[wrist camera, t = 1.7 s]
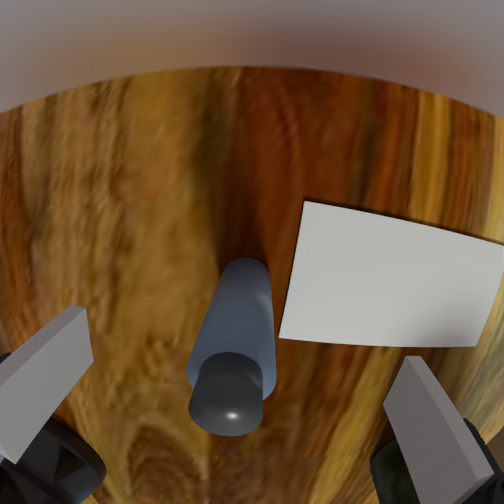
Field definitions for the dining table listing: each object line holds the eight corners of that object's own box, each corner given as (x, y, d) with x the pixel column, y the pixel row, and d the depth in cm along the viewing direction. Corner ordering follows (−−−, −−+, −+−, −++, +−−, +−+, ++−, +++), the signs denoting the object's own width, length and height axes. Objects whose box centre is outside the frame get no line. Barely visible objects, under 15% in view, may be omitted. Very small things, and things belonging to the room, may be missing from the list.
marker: (218, 299, 21) (174, 434, 9) (224, 253, 20) (173, 366, 8) (266, 306, 21) (268, 448, 9) (274, 261, 20) (288, 383, 8)
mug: (354, 480, 27) (370, 553, 16) (394, 405, 23) (436, 500, 12) (423, 466, 27) (448, 528, 16) (471, 391, 23) (520, 460, 12)
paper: (278, 336, 22) (278, 337, 21) (304, 200, 19) (304, 201, 19) (474, 345, 22) (475, 346, 21) (508, 247, 19) (509, 247, 19)
